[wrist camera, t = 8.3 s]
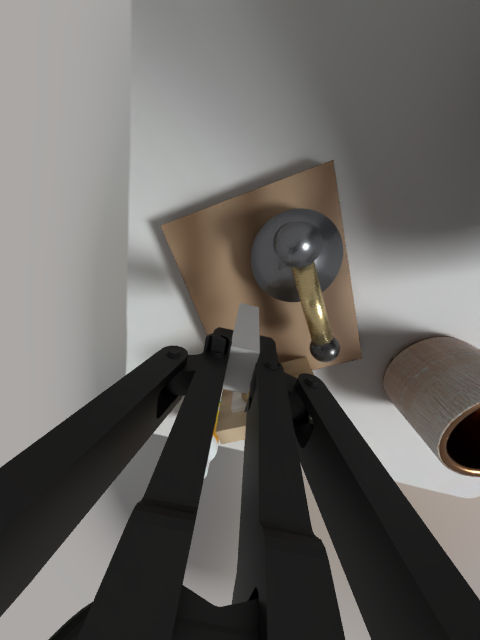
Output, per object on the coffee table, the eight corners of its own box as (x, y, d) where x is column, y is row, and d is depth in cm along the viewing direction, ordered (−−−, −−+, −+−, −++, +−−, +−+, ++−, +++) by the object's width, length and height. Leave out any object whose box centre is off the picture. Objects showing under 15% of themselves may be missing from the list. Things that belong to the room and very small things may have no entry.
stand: (325, 165, 20) (387, 117, 11) (354, 349, 28) (406, 411, 18) (167, 225, 23) (112, 225, 14) (231, 379, 30) (223, 447, 21)
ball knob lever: (238, 229, 21) (234, 231, 16) (324, 195, 20) (352, 184, 14) (279, 347, 26) (287, 379, 20) (351, 326, 24) (380, 354, 19)
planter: (363, 372, 29) (412, 436, 20) (445, 316, 26) (548, 364, 17) (409, 418, 32) (471, 493, 23) (489, 372, 28) (599, 440, 19)
